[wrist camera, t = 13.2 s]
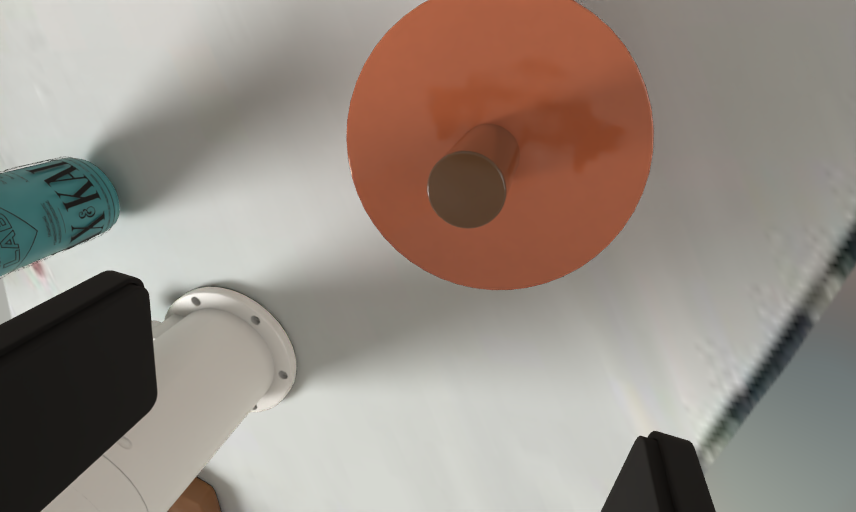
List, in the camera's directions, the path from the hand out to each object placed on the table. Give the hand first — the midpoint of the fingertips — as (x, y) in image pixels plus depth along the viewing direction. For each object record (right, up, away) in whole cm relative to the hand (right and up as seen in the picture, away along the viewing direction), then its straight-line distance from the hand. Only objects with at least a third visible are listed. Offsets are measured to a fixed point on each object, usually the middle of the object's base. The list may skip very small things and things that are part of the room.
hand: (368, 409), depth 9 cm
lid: (+4, +7, +12) cm, 14 cm away
